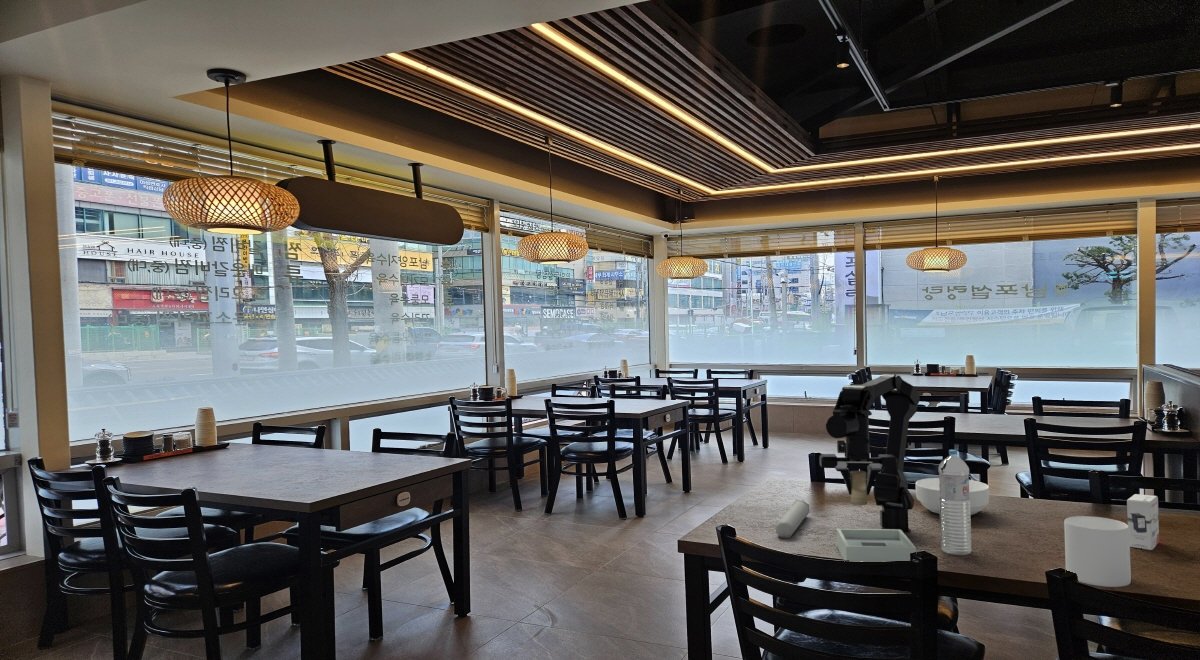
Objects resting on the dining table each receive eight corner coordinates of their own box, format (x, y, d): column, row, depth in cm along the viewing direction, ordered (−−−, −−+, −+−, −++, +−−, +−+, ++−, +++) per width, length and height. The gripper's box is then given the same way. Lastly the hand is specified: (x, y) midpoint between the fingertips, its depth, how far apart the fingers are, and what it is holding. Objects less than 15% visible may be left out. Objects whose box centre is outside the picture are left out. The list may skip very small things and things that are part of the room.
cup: (1126, 591, 152) (1125, 533, 152) (1061, 579, 159) (1059, 524, 159) (1134, 576, 160) (1132, 521, 160) (1071, 565, 168) (1069, 513, 168)
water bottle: (957, 557, 176) (954, 453, 176) (934, 550, 183) (931, 449, 183) (978, 553, 179) (974, 450, 179) (954, 546, 185) (951, 447, 185)
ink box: (1135, 539, 186) (1134, 492, 186) (1160, 542, 183) (1158, 495, 183) (1127, 546, 180) (1126, 498, 180) (1152, 550, 177) (1151, 501, 177)
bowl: (1003, 513, 215) (1002, 484, 215) (966, 525, 204) (965, 495, 204) (939, 501, 231) (939, 475, 231) (902, 512, 220) (901, 484, 220)
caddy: (901, 547, 186) (900, 529, 186) (916, 567, 170) (916, 547, 170) (837, 546, 188) (836, 528, 188) (846, 565, 173) (846, 546, 173)
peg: (865, 501, 191) (865, 470, 191) (868, 505, 187) (867, 473, 187) (849, 501, 192) (849, 470, 192) (851, 504, 188) (851, 473, 188)
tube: (795, 526, 195) (812, 503, 217) (776, 518, 197) (794, 496, 220) (789, 544, 196) (806, 520, 218) (770, 536, 198) (789, 513, 220)
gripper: (889, 430, 196) (891, 488, 196) (816, 429, 199) (818, 487, 199) (897, 435, 185) (899, 498, 185) (820, 435, 188) (822, 496, 188)
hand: (858, 494), depth 190 cm, fingers closed on peg, 4 cm apart
